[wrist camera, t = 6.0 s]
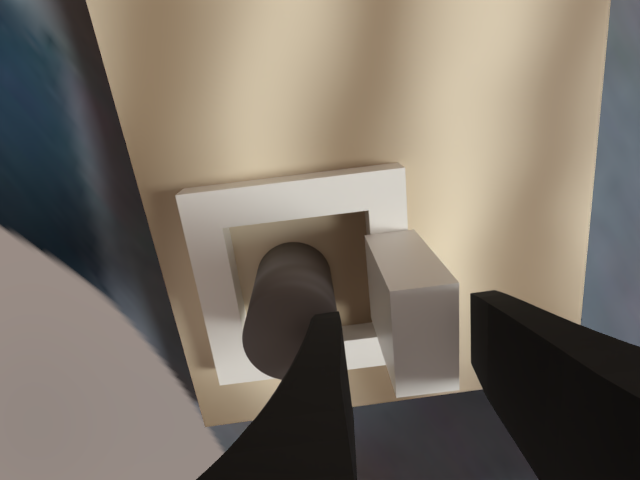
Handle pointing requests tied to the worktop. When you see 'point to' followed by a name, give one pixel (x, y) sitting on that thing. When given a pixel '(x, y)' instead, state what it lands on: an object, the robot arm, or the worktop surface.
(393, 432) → the worktop surface
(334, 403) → the robot arm
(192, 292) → the board
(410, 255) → the collar
